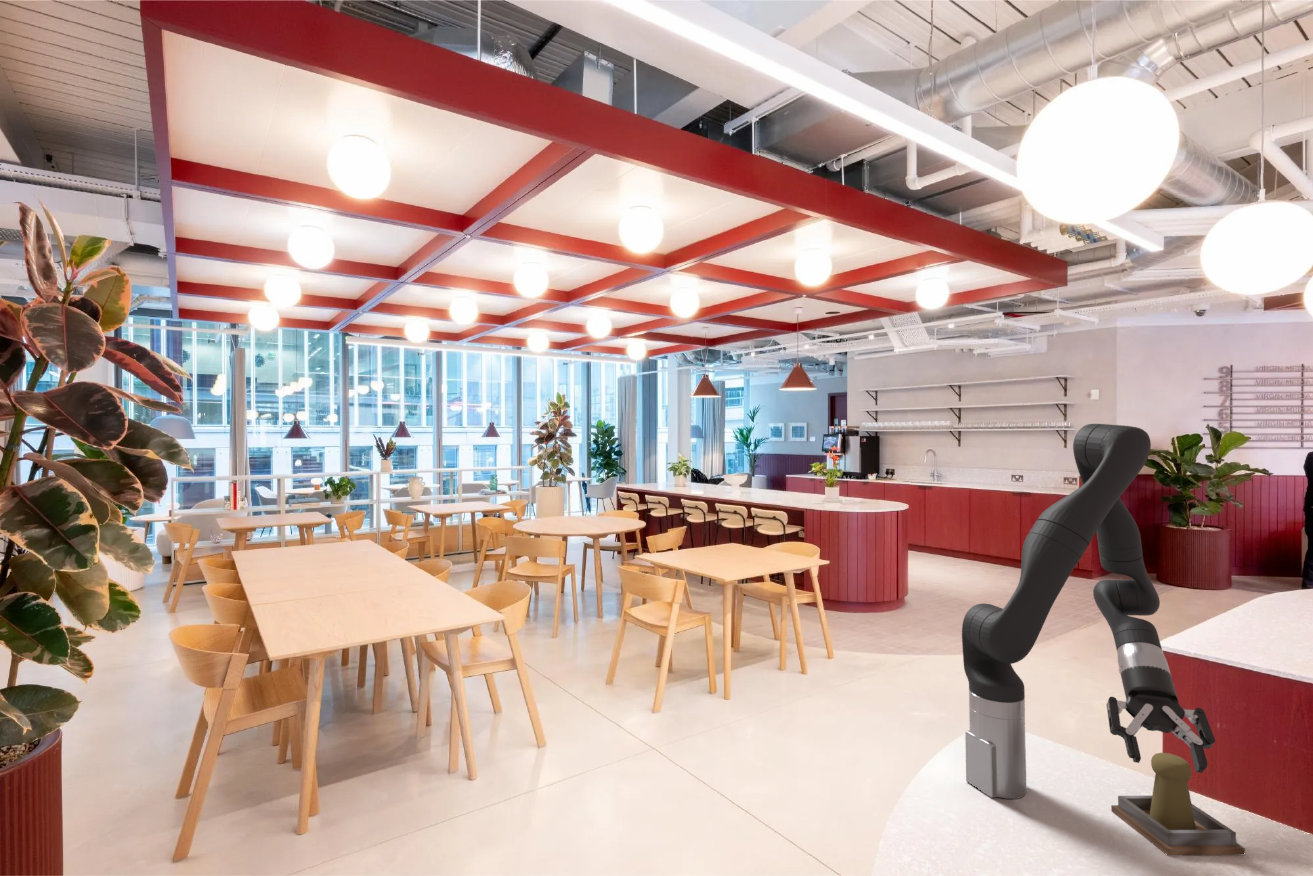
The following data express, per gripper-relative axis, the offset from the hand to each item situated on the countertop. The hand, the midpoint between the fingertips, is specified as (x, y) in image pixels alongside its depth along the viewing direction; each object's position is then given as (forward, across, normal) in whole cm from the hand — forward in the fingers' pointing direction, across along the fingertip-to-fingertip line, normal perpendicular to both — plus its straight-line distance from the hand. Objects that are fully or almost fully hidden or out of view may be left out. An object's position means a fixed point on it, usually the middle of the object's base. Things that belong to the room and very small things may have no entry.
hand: (1168, 765), depth 105 cm
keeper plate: (+8, 0, +6) cm, 10 cm away
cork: (+7, 0, +6) cm, 9 cm away
